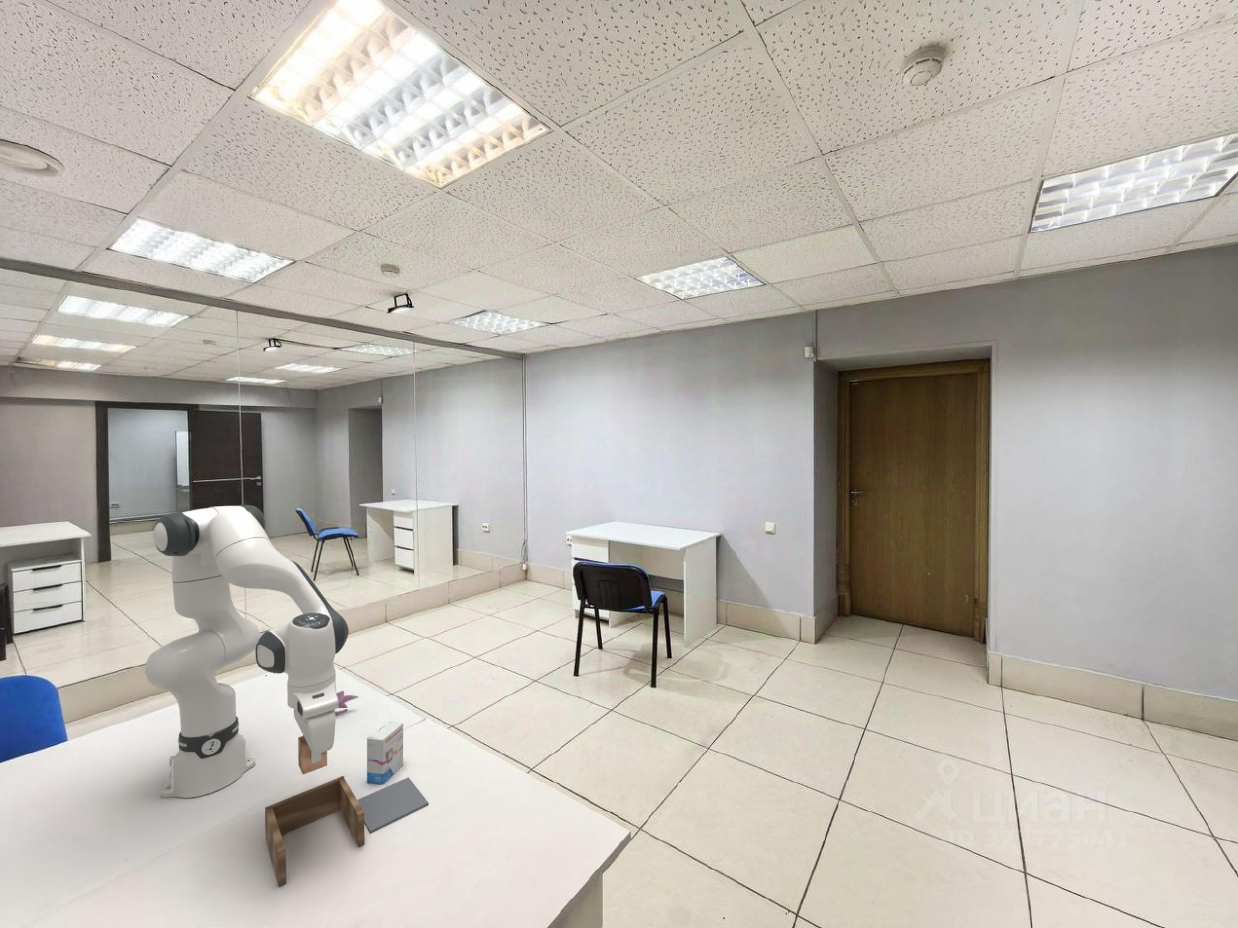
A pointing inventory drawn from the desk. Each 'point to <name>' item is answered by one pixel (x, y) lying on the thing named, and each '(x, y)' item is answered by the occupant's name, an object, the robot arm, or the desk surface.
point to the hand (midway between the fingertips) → (312, 754)
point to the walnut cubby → (310, 817)
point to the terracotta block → (308, 757)
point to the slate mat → (391, 804)
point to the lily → (344, 699)
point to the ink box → (384, 752)
